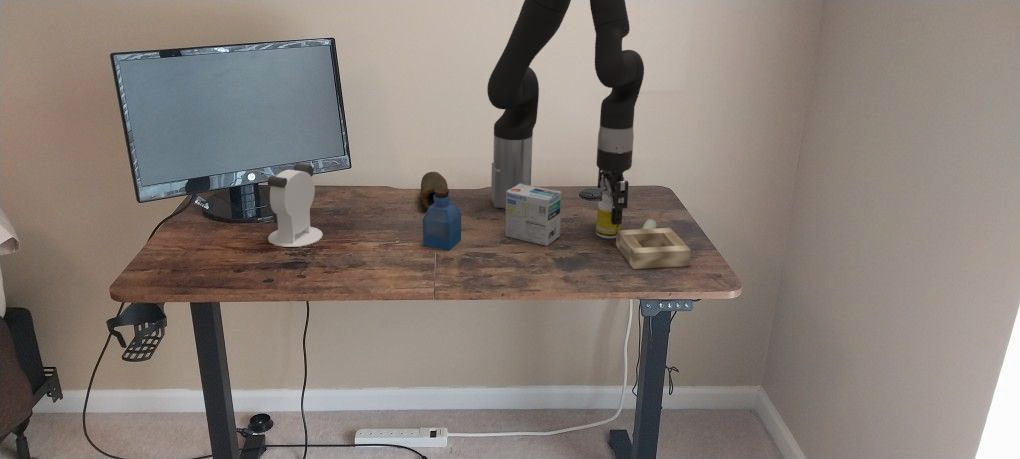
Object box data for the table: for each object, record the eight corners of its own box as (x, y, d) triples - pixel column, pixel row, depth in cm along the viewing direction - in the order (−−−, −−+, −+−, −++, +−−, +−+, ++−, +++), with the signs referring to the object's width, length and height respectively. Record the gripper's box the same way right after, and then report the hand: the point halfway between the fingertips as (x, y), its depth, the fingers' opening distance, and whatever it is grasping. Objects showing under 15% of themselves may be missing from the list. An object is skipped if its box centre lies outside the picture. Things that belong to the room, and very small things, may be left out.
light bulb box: (560, 236, 173) (563, 190, 168) (547, 247, 167) (549, 199, 163) (518, 226, 177) (519, 182, 173) (503, 236, 172) (504, 190, 168)
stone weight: (451, 212, 185) (451, 186, 182) (422, 214, 183) (421, 187, 181) (445, 191, 198) (445, 166, 196) (418, 192, 197) (417, 167, 194)
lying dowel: (644, 245, 171) (652, 237, 170) (635, 236, 171) (643, 229, 170) (651, 232, 178) (658, 224, 177) (642, 224, 178) (650, 216, 177)
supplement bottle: (619, 240, 171) (622, 198, 167) (594, 238, 172) (597, 196, 168) (620, 231, 176) (624, 190, 172) (596, 228, 177) (599, 188, 173)
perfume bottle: (461, 239, 170) (461, 187, 165) (449, 250, 164) (449, 197, 160) (435, 235, 172) (434, 183, 167) (423, 246, 166) (421, 193, 162)
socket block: (633, 269, 158) (634, 253, 156) (615, 245, 169) (617, 230, 167) (689, 265, 160) (691, 250, 158) (668, 242, 171) (670, 227, 169)
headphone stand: (290, 223, 176) (284, 159, 170) (334, 230, 173) (329, 166, 167) (257, 243, 166) (250, 176, 160) (303, 251, 162) (297, 183, 156)
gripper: (589, 137, 172) (585, 206, 178) (607, 156, 159) (603, 229, 165) (621, 136, 173) (617, 205, 179) (642, 155, 160) (637, 228, 166)
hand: (610, 216), depth 172 cm, fingers open, 8 cm apart
